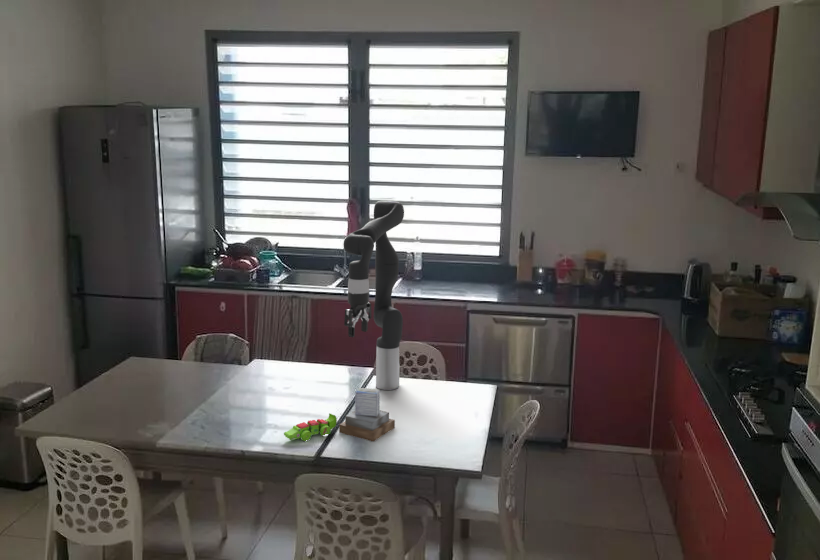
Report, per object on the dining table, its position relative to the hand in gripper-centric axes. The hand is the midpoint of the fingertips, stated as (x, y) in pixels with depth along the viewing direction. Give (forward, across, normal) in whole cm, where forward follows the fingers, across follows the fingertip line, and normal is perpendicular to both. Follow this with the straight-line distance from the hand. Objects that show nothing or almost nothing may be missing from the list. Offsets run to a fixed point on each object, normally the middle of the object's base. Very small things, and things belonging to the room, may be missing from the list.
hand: (358, 334), depth 279 cm
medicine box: (+24, +12, +12) cm, 30 cm away
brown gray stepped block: (+30, +12, +12) cm, 35 cm away
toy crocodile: (+30, +26, -2) cm, 40 cm away
